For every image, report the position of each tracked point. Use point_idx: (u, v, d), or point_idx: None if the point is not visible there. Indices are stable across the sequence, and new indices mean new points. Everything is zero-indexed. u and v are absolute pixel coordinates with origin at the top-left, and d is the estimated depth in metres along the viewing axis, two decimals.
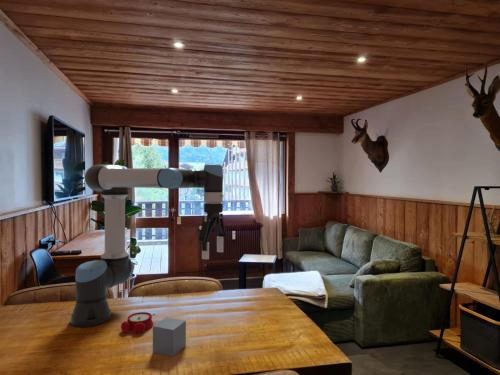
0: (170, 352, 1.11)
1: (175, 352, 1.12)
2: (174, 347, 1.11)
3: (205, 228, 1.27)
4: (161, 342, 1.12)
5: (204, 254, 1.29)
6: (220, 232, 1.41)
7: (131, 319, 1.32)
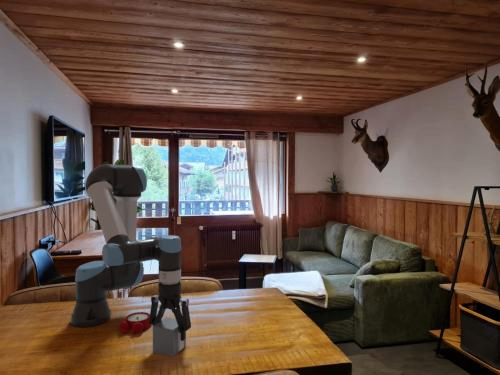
0: (170, 352, 1.11)
1: (175, 352, 1.12)
2: (174, 347, 1.11)
3: None
4: (161, 342, 1.12)
5: None
6: None
7: (130, 319, 1.32)
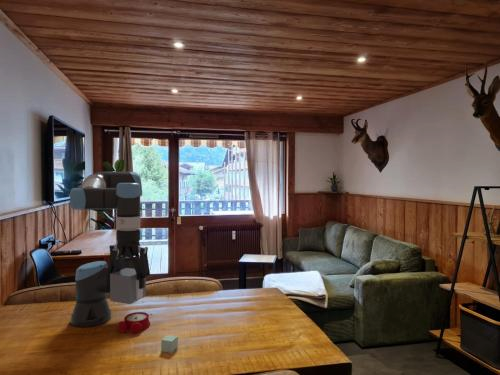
0: (127, 300, 1.08)
1: (133, 300, 1.09)
2: (131, 294, 1.09)
3: None
4: (118, 290, 1.09)
5: None
6: None
7: (128, 319, 1.32)
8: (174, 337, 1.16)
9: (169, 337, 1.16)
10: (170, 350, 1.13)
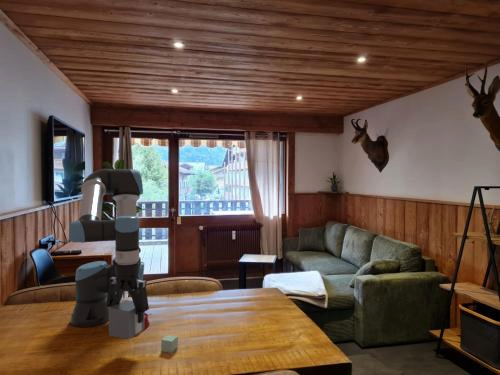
0: (125, 335, 1.08)
1: (131, 334, 1.09)
2: (130, 329, 1.08)
3: None
4: (117, 324, 1.09)
5: None
6: None
7: None
8: (174, 337, 1.16)
9: (169, 337, 1.16)
10: (170, 350, 1.13)
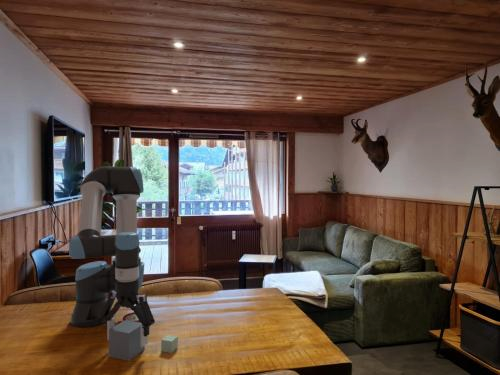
0: (125, 356, 1.08)
1: (131, 356, 1.09)
2: (130, 351, 1.09)
3: None
4: (117, 346, 1.10)
5: None
6: None
7: (126, 319, 1.32)
8: (174, 337, 1.16)
9: (169, 337, 1.16)
10: (170, 350, 1.14)
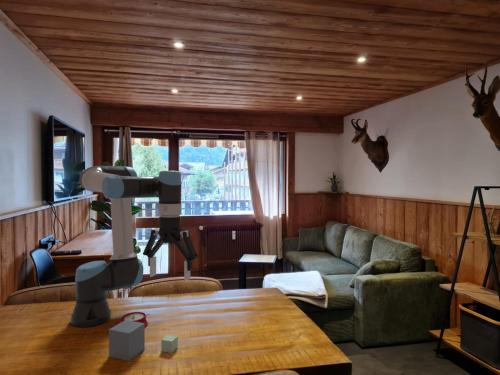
0: (125, 356, 1.08)
1: (131, 356, 1.09)
2: (130, 351, 1.09)
3: None
4: (117, 346, 1.10)
5: None
6: None
7: (125, 318, 1.33)
8: (174, 337, 1.16)
9: (169, 337, 1.16)
10: (170, 350, 1.14)
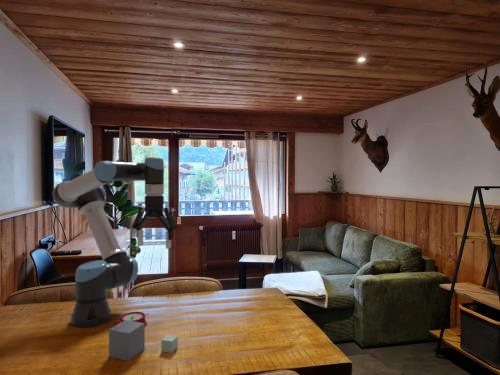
0: (125, 356, 1.08)
1: (131, 356, 1.09)
2: (130, 351, 1.09)
3: None
4: (117, 346, 1.10)
5: None
6: None
7: (124, 318, 1.33)
8: (174, 337, 1.16)
9: (169, 337, 1.16)
10: (170, 350, 1.14)
